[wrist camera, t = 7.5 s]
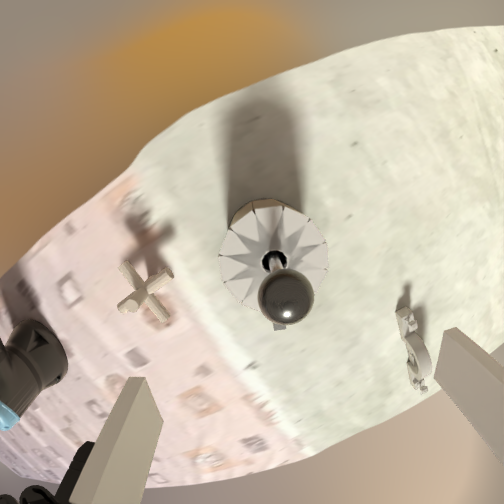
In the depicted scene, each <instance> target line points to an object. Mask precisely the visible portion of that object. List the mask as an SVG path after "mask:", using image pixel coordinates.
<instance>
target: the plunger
mask: <svg viewBox="0 0 504 504" xmlns="http://www.w3.org/2000/svg"><path fill="white" fill-rule="evenodd" d="M285 263H286V256H285V255H284V253H283V252H280V251H278V250H273V251H269V252H268V253H266V254H265V255H264V257H263V259H262V265H263V266H264V268H265V269H266V270H270V271H271V273H270V274H269V275H267V276H266V277H265V278H264V280H263V281H262V282H261V284H260V286H259V289H258V295H257V300H258V305H259V308H260V310H261V312H262V313H263V315H264V316H265V317H266V318H267V319H269V320H270V321H271V322H273V323H276V324H279V325H292V324H295V323H298V322H300V321H301V320H303V319H304V318H305V317H306V316H307V315H308V314H309V312H310V311H311V309H312V306H313V303H314V290H313V287H312V285H311V283H310V281H309V280H308V279H307V277H306V276H305V275H303V274H302V273H300V272H298V271H296V270H293V269H284V268H283V266H284V265H285Z"/></svg>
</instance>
